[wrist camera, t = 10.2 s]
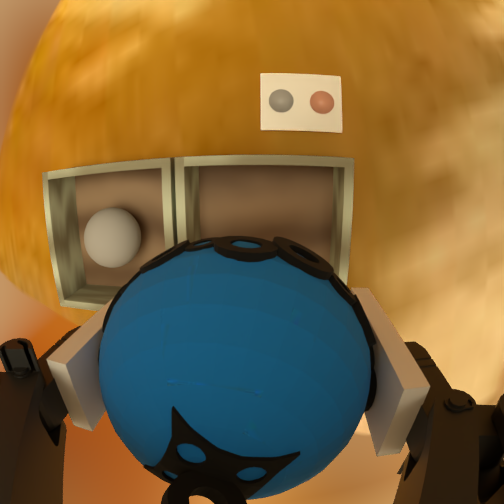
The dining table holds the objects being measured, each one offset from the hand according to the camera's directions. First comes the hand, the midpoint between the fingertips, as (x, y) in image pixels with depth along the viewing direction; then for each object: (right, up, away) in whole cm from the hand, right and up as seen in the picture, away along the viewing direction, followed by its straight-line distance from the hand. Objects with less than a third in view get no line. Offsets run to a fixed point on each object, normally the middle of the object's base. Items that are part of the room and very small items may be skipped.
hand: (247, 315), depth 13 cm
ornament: (0, 0, 0) cm, 0 cm away
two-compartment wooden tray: (-6, +5, +19) cm, 21 cm away
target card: (+5, +17, +15) cm, 23 cm away
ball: (-13, +5, +19) cm, 24 cm away
